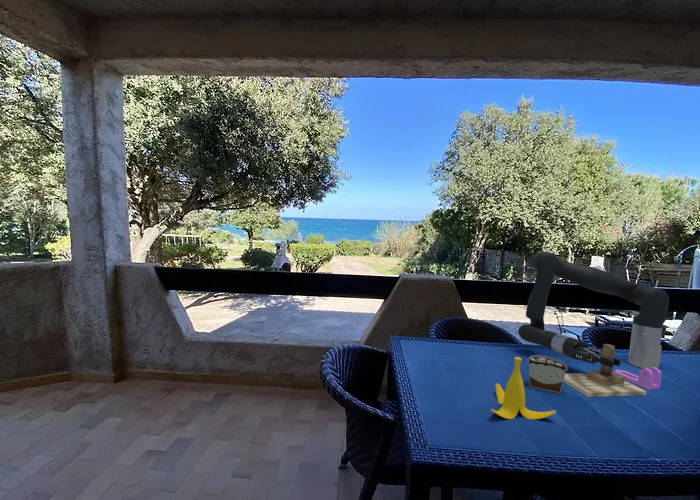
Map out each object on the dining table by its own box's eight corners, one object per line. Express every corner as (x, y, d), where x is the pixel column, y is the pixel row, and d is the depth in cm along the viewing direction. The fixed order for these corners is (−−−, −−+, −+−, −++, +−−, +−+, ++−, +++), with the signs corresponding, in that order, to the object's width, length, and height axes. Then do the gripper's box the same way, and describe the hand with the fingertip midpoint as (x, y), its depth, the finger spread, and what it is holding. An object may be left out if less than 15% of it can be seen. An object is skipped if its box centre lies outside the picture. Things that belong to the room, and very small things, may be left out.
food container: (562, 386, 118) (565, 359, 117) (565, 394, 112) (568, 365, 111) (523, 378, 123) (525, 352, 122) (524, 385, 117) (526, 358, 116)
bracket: (659, 388, 120) (662, 369, 119) (649, 390, 118) (651, 371, 117) (620, 372, 132) (622, 355, 131) (610, 374, 130) (612, 356, 130)
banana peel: (496, 392, 112) (500, 343, 111) (556, 422, 96) (562, 366, 95) (464, 405, 103) (468, 352, 102) (523, 440, 87) (529, 378, 86)
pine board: (608, 376, 128) (609, 372, 128) (645, 395, 114) (646, 391, 114) (556, 377, 125) (557, 373, 125) (588, 397, 111) (588, 392, 111)
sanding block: (608, 377, 123) (612, 342, 122) (623, 385, 117) (628, 348, 116) (586, 378, 122) (590, 342, 121) (601, 386, 116) (605, 348, 115)
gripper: (556, 338, 129) (605, 356, 113) (580, 335, 134) (629, 351, 119) (554, 357, 130) (602, 377, 114) (578, 353, 135) (627, 371, 119)
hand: (616, 364), depth 116 cm, fingers closed on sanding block, 3 cm apart
